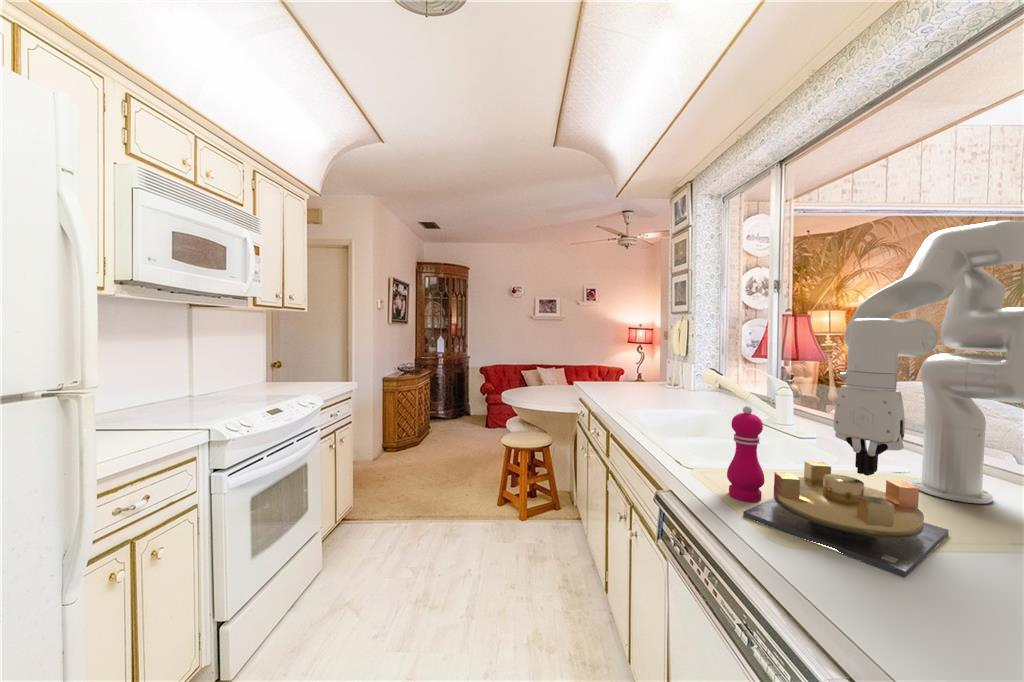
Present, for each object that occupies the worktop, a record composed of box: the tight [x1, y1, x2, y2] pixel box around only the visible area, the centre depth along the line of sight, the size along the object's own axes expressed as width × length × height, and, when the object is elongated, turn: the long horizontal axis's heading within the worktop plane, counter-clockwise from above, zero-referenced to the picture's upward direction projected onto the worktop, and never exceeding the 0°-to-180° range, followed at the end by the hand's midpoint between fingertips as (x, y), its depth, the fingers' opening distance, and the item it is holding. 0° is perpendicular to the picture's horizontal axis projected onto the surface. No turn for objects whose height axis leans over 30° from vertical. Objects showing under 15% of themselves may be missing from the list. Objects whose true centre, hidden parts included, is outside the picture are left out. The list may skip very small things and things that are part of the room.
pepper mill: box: [726, 405, 765, 503], centre depth 92 cm, size 7×7×20 cm
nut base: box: [742, 497, 949, 579], centre depth 80 cm, size 24×24×3 cm
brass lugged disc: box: [772, 460, 925, 538], centre depth 80 cm, size 22×22×6 cm
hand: (865, 473), depth 84 cm, fingers closed
